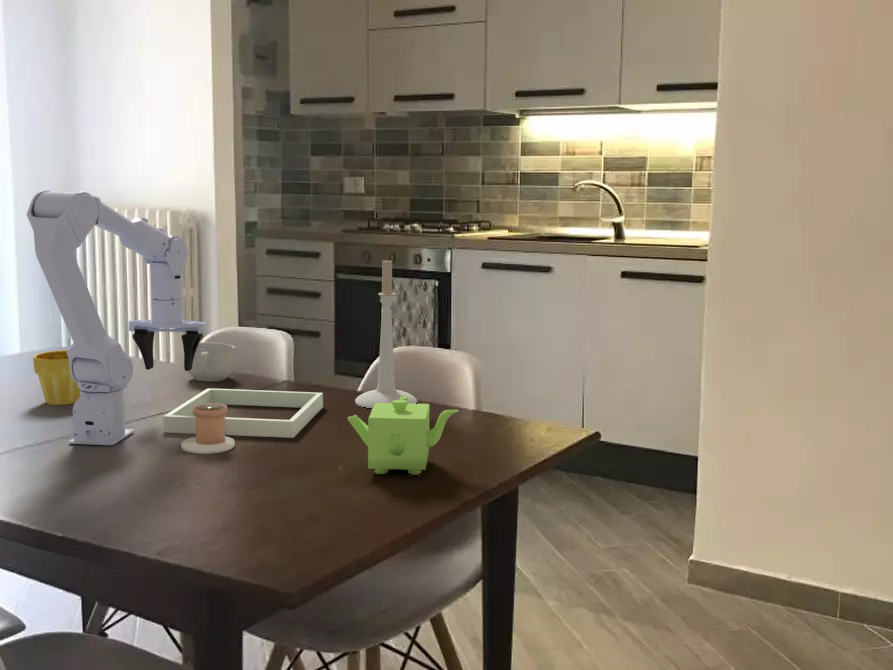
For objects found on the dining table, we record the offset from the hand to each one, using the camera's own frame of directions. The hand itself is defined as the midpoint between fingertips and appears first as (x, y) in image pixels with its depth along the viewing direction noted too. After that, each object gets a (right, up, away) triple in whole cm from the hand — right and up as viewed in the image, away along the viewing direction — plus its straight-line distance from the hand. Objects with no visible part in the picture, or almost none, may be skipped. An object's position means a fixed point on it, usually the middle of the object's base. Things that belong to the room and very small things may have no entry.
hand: (168, 369), depth 191 cm
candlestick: (+41, -8, +17) cm, 44 cm away
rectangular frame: (+15, -10, +1) cm, 18 cm away
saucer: (+12, -13, -18) cm, 25 cm away
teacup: (-1, -4, +35) cm, 36 cm away
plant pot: (-25, -7, +13) cm, 29 cm away
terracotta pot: (+12, -12, -18) cm, 25 cm away
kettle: (+46, -15, -29) cm, 56 cm away
